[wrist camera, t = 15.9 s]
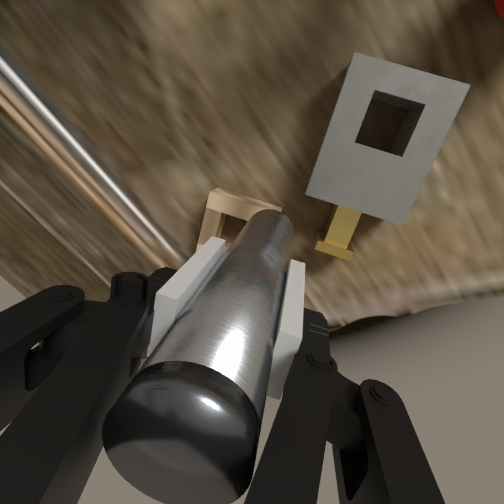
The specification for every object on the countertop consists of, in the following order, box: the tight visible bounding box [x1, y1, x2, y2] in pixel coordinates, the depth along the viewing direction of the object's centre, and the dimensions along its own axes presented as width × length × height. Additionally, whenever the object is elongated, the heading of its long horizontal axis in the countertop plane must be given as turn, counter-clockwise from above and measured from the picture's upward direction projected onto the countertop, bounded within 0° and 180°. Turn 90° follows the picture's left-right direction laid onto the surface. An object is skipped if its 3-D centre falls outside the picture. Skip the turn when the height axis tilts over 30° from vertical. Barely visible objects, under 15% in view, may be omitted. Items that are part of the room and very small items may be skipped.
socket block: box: [305, 52, 471, 225], centre depth 35 cm, size 11×14×6 cm
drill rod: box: [102, 209, 294, 504], centre depth 16 cm, size 4×4×18 cm
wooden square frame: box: [196, 187, 282, 256], centre depth 42 cm, size 9×9×4 cm
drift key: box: [314, 204, 362, 261], centre depth 38 cm, size 4×10×4 cm, turn 164°
